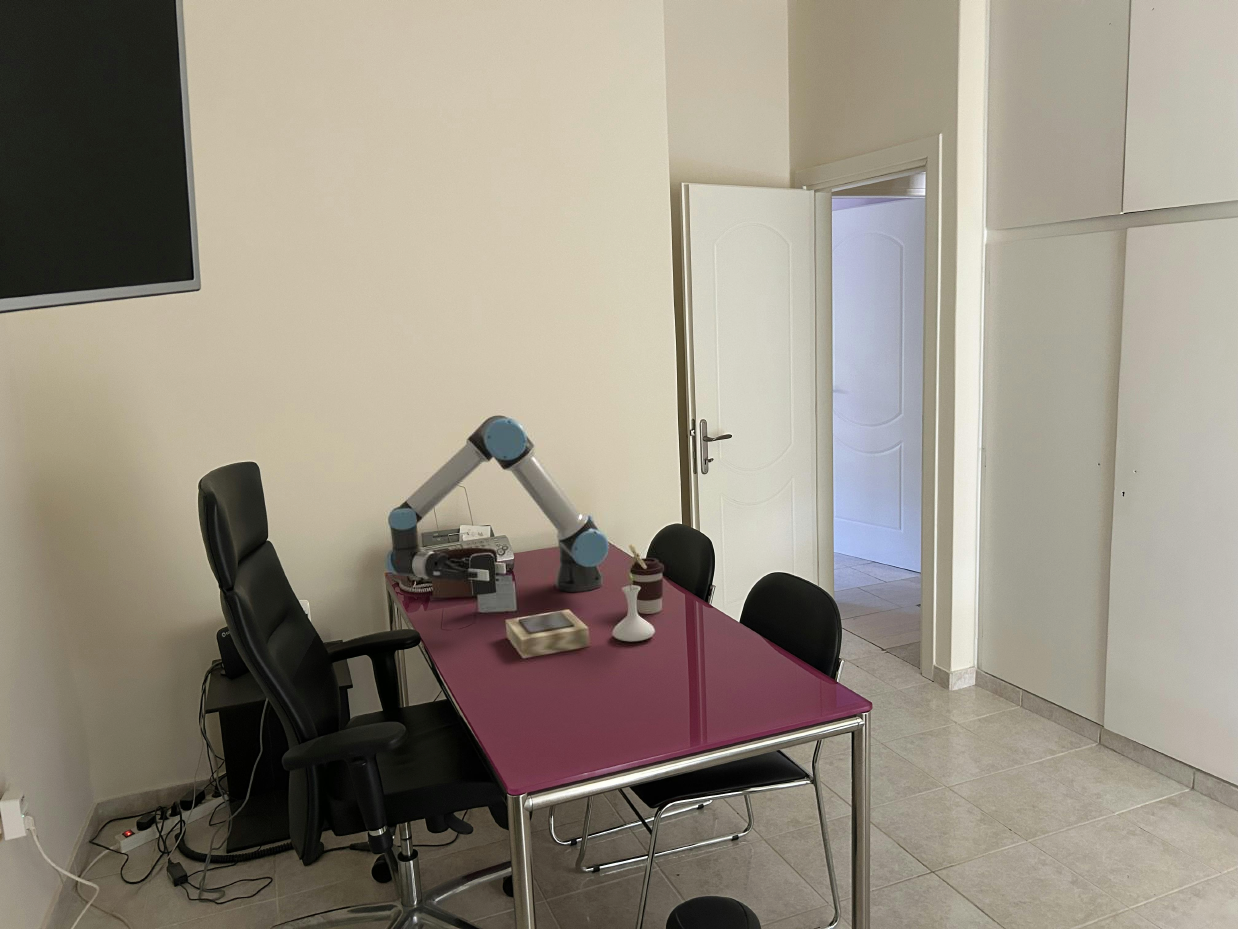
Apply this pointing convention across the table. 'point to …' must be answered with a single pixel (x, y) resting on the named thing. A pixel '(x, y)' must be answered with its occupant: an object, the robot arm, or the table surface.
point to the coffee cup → (648, 585)
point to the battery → (483, 563)
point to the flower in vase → (633, 612)
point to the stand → (547, 633)
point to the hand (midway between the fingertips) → (496, 572)
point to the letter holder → (454, 587)
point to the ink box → (499, 596)
